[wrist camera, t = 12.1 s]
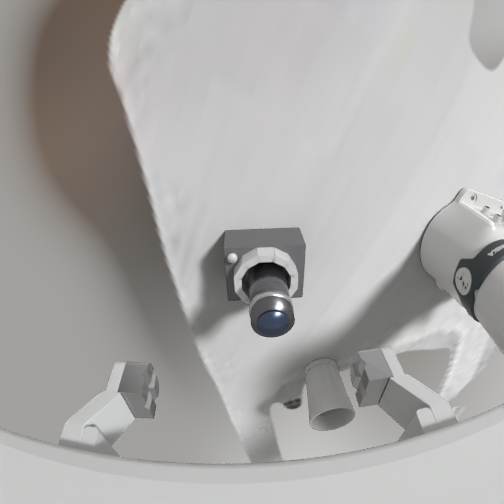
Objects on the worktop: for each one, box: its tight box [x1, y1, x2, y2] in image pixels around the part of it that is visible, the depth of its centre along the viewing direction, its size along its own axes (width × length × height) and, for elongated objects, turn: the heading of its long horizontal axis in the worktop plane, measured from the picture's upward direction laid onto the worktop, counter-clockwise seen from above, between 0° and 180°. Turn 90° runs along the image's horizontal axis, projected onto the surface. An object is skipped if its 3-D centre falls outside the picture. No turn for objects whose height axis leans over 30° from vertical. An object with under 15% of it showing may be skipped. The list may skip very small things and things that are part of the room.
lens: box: [248, 262, 295, 337], centre depth 37 cm, size 5×5×9 cm
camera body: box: [224, 228, 306, 305], centre depth 43 cm, size 10×9×7 cm
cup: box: [305, 358, 355, 431], centre depth 53 cm, size 8×8×12 cm
